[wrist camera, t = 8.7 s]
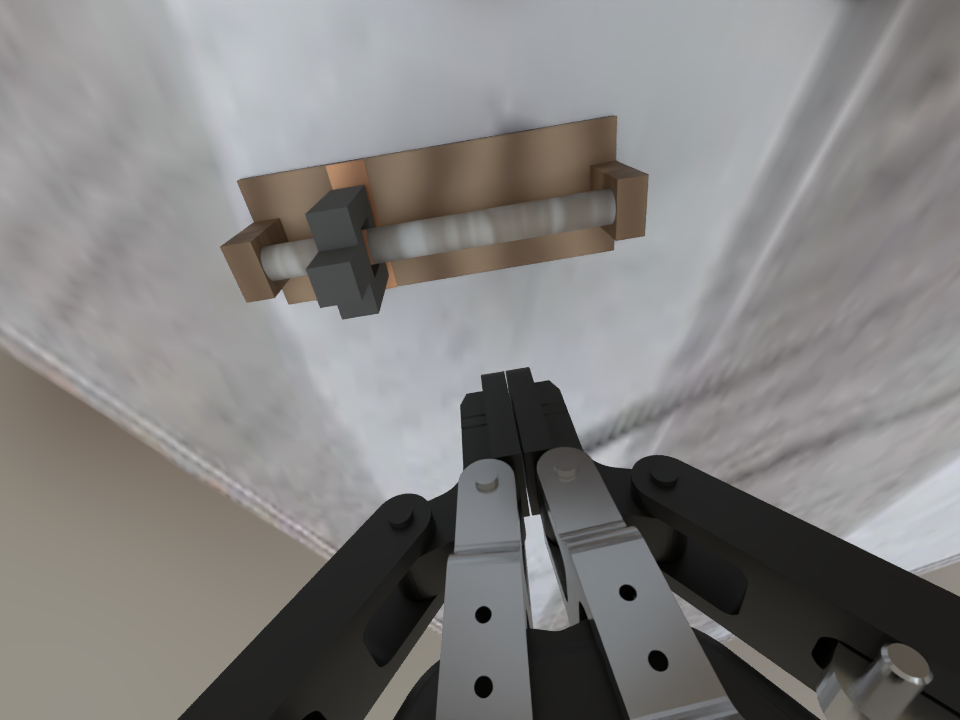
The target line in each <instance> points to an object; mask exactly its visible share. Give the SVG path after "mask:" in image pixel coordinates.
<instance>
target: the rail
mask: <svg viewBox="0 0 960 720" xmlns="http://www.w3.org/2000/svg"><path fill="white" fill-rule="evenodd" d="M616 136H617V116H608V117H602V118H596V119H590V120H584V121H578V122H573V123H567V124H561V125H555V126H549V127H543V128H537V129H532V130H526V131H520V132H514V133H508V134H502V135H496V136H490V137H485V138H479V139H473V140H467V141H461V142H455V143H449V144H443V145H438V146H432V147H426V148H420V149H414V150H408V151H402V152H397V153H391V154H385V155H379V156H373V157H367V158H361V159H355V160H350V161H344V162H338V163H332V164H326V165H320V166H314V167H308V168H303V169H297V170H291V171H285V172H279V173H273V174H267V175H262V176H256V177H250V178H244V179H240V180H238V181H237V183H238V185H239V188H240V190H241V192H242V195H243V197H244V200H245V202H246V204H247V207H248V209H249V211H250V214H251V216H252V219H253V221H254V223H252V224H251V225H249V226H248V227H247V228H245V229H244V230H243V231H241V232H240V233H238V234H237V235H236V236H234V237H233V238H231V239H230V240H229V241H227V242H226V243H225V244H223V245H222V246H220V248H221V250H222V252H223V254H224V256H225V258H226V261H227V263H228V265H229V267H230V269H231V271H232V273H233V275H234V277H235V279H236V282H237V284H238V286H239V288H240V290H241V292H242V294H243V296H244V298H245V300H246V303H247V302H253V301H259V300H265V299H271V298H275V297H276V296H277V294H278V293H279V292H280V291H281V289H282V290H283V292H284V295H285V297H286V300H287V302H288V304H295V303H301V302H307V301H313V300H317V298H316V295H315V293H314V290H313V287H312V285H311V282H310V280H309V277H308V274H307V272H306V268H307V267H308V265H309V264H310V263H311V261H312V260H313V258H314V257H315V256H316V254H317V253H318V250H317V247H316V244H315V241H314V238H313V236H312V233H311V230H310V227H309V224H308V221H307V219H306V216H305V214H306V213H307V212H308V211H309V210H310V209H311V208H312V207H313V206H314V205H315V204H316V203H317V202H318V201H319V200H321V199H322V198H323V197H324V196H325V195H326V194H327V193H328V192H329V191H330V190H335V189H341V188H347V187H353V186H359V185H365V189H366V192H367V196H368V200H369V203H370V207H371V211H372V214H373V218H374V222H375V225H376V228H370V229H364V230H361V233H362V236H363V239H364V243H365V246H366V250H367V253H368V257H369V260H370V263H371V265H372V264H378V263H384V262H386V266H387V270H388V273H389V278H388V281H387V285H386V289H387V288H393V287H397V286H403V285H409V284H415V283H421V282H427V281H433V280H439V279H445V278H451V277H457V276H463V275H469V274H475V273H481V272H487V271H493V270H499V269H505V268H510V267H516V266H522V265H528V264H534V263H540V262H546V261H552V260H558V259H564V258H570V257H576V256H582V255H588V254H594V253H600V252H606V251H612V250H614V239H615V240H616V241H618V240H624V239H630V238H636V237H642V236H645V225H646V208H647V192H648V175H649V174H646V173H644V172H641V171H639V170H637V169H634V168H632V167H629V166H627V165H624V164H622V163H620V162H617V161H616Z"/></svg>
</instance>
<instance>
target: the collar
mask: <svg viewBox="0 0 960 720" xmlns="http://www.w3.org/2000/svg"><path fill="white" fill-rule="evenodd" d="M305 216H306V219H307V221H308V224H309V227H310V230H311V233H312V236H313V238H314V241H315V244H316V247H317V250H318V253H317V254H316V256H315V257H314V258H313V260H312V261H311V263H310V264H309V265H308V267H307V268H306V272H307V274H308V277H309V280H310V282H311V285H312V287H313V290H314V293H315V295H316V298H317V301H318V303H319V306H320V308H322V307H328V306H334V305H337V306H338V309H339V312H340V315H341V317H342V319H348V318H354V317H360V316H366V315H372V314H378V313H379V311H380V307H381V303H382V300H383V296H384V292H385V289H386V285H387V281H388V278H389V273H388V270H387V266H386V262H384V263H378V264H372V265H371V263H370V260H369V257H368V253H367V250H366V246H365V243H364V239H363V236H362V233H361V230H364V229H370V228H376V225H375V222H374V218H373V214H372V211H371V207H370V203H369V200H368V196H367V192H366V189H365V185H359V186H353V187H347V188H341V189H335V190H330V191H329V192H328V193H327V194H326V195H325V196H324V197H323V198H322V199H321V200H319V201H318V202H317V203H316V204H315V205H314V206H313V207H312V208H311V209H310V210H309V211H308V212H307V213H306V214H305Z"/></svg>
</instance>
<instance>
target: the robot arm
mask: <svg viewBox="0 0 960 720" xmlns="http://www.w3.org/2000/svg"><path fill="white" fill-rule="evenodd" d="M506 377H507V383H506V379H505V374H504V371H503V372H496V373H490V374H484V375H481V380H482V388H483V391H481V392H475V393H469V394H466V396H465V398H464V400H463V401H462V403H461V405H460V410H461V428H462V449H463V472H462V473H461V475H460V478H459V481H458V483H457V484H456V485H455V486H454V487H453V488H452V489H451V490H449V491H448V492H446V493H444V494H443V495H440V496H438V497H436V498H434V499H432V500H429V501H427V500H426V499H425V498H423V497H422V496H419V495H417V494H401V495H398V496H395V497H393V498H391V499H389V500H388V501H386V502H385V503H384V504H382V505H381V506H380V507H379V508H378V509H377V510H376V512H375V513H374V514H373V515H372V516H371V517H370V518H369V519H368V520H367V521H366V522H365V523H364V524H363V525H362V526H361V527H360V528H359V529H358V530H357V532H356V533H355V534H354V535H353V536H352V537H351V538H350V539H349V540H348V541H347V542H346V543H345V544H344V545H343V546H342V547H341V548H340V549H339V550H338V551H337V553H336V554H335V555H334V556H333V557H332V558H331V559H330V560H329V561H328V562H327V563H326V564H325V565H324V566H323V567H322V568H321V569H320V570H319V571H318V573H317V574H316V575H315V576H314V577H313V578H312V579H311V580H310V581H309V582H308V583H307V584H306V585H305V586H304V587H303V588H302V589H301V590H300V591H299V592H298V594H297V595H296V596H295V597H294V598H293V599H292V600H291V601H290V602H289V603H288V604H287V605H286V606H285V607H284V608H283V609H282V610H281V611H280V613H279V614H278V615H277V616H276V617H275V618H274V619H273V620H272V621H271V622H270V623H269V624H268V625H267V626H266V627H265V628H264V629H263V630H262V631H261V632H260V633H259V634H258V635H257V637H256V638H255V639H254V640H253V641H252V642H251V643H250V644H249V645H248V646H247V647H246V648H245V649H244V650H243V651H242V652H241V654H239V656H237V658H236V659H235V660H234V661H233V662H232V663H231V664H230V665H229V666H228V667H227V668H226V669H225V670H224V671H223V672H222V673H221V674H220V675H219V677H218V678H217V679H216V680H215V681H214V682H213V683H212V684H211V685H210V686H209V687H208V688H207V689H206V690H205V691H204V692H203V693H202V694H201V695H200V696H199V697H198V699H197V700H196V701H195V702H194V703H193V704H192V705H191V706H190V707H189V708H188V709H187V710H186V711H185V712H184V713H183V714H182V715H181V716H180V717H179V718H178V720H364V718H365V717H366V715H367V714H368V712H369V711H370V709H371V708H372V707H373V705H374V704H375V702H376V701H377V699H378V698H379V696H380V695H381V693H382V692H383V691H384V689H385V687H386V686H387V685H388V683H389V682H390V680H391V679H392V677H393V676H394V674H395V673H396V672H397V670H398V669H399V667H400V666H401V664H402V663H403V661H404V660H405V659H406V657H407V656H408V654H409V653H410V651H411V650H412V648H413V647H414V646H415V644H416V643H417V641H418V640H419V638H420V637H421V635H422V634H423V632H424V631H425V629H426V628H427V627H428V625H429V624H430V622H431V621H432V619H433V618H434V616H435V615H436V614H437V612H438V611H439V609H440V608H441V606H442V605H443V603H444V613H443V627H442V641H441V654H440V660H439V661H438V662H436V663H435V664H434V665H433V666H431V668H429V670H427V671H426V673H425V674H424V675H423V676H422V677H421V678H420V679H419V680H418V682H417V683H416V684H415V686H414V687H413V689H412V690H411V691H410V693H409V694H408V696H407V697H406V699H405V701H404V703H403V704H402V706H401V707H400V709H399V711H398V712H397V714H396V716H395V717H394V719H393V720H820V719H819V718H818V717H816V716H815V715H814V714H812V713H811V712H809V711H808V710H807V709H806V708H804V707H803V706H802V705H801V704H799V703H798V702H797V701H796V700H794V699H793V698H792V697H790V696H789V695H788V694H786V693H785V692H784V691H783V690H781V689H780V688H779V687H777V686H776V685H775V684H773V683H772V682H771V681H770V680H768V679H767V678H765V677H764V676H763V675H762V674H760V673H759V672H758V671H757V670H755V669H754V668H753V667H751V666H750V665H749V664H748V663H746V662H745V661H744V660H742V659H741V658H740V657H738V656H737V655H736V654H734V653H733V652H732V651H731V650H729V649H728V648H727V647H725V646H724V645H723V644H721V643H720V642H718V641H717V640H715V639H713V638H712V637H710V636H709V635H707V634H705V633H703V632H701V631H699V630H697V629H695V628H693V627H690V625H689V623H688V621H687V619H686V617H685V615H684V614H683V612H682V610H681V608H680V606H679V604H678V602H677V600H676V599H675V597H674V595H673V593H672V591H673V592H674V593H676V594H677V595H678V596H680V597H681V598H683V599H684V600H686V601H687V602H688V603H690V604H691V605H693V606H694V607H695V608H697V609H698V610H700V611H701V612H703V613H704V614H705V615H707V616H708V617H710V618H711V619H713V620H714V621H715V622H717V623H718V624H720V625H721V626H722V627H724V628H725V629H727V630H728V631H730V632H731V633H732V634H734V635H735V636H737V637H738V638H740V639H741V640H742V641H744V642H745V643H747V644H748V645H750V646H751V647H752V648H754V649H755V650H757V651H758V652H759V653H761V654H762V655H764V656H765V657H767V658H768V659H770V660H771V661H772V662H774V663H775V664H776V665H778V666H779V667H781V668H782V669H784V670H785V671H786V672H788V673H789V674H791V675H792V676H794V677H795V678H797V679H798V680H799V681H801V682H802V683H803V684H805V685H806V686H808V687H809V688H811V689H812V690H813V691H815V692H816V693H817V698H818V701H819V704H820V707H821V709H822V711H823V713H824V715H825V717H826V718H827V720H960V597H959V596H957V595H955V594H953V593H951V592H949V591H947V590H945V589H943V588H941V587H939V586H937V585H934V584H932V583H931V582H929V581H927V580H924V579H922V578H920V577H918V576H916V575H914V574H912V573H910V572H908V571H906V570H904V569H902V568H900V567H898V566H896V565H894V564H892V563H890V562H887V561H885V560H883V559H881V558H879V557H877V556H875V555H873V554H871V553H869V552H867V551H865V550H863V549H861V548H859V547H857V546H855V545H853V544H850V543H848V542H846V541H844V540H842V539H840V538H838V537H836V536H834V535H832V534H830V533H828V532H826V531H824V530H822V529H820V528H818V527H816V526H813V525H811V524H809V523H807V522H805V521H803V520H801V519H799V518H797V517H795V516H793V515H791V514H789V513H787V512H785V511H783V510H781V509H779V508H776V507H774V506H772V505H770V504H768V503H766V502H764V501H762V500H760V499H758V498H756V497H754V496H752V495H750V494H748V493H746V492H744V491H742V490H739V489H737V488H735V487H733V486H731V485H729V484H727V483H725V482H723V481H721V480H719V479H717V478H715V477H713V476H711V475H709V474H707V473H705V472H702V471H700V470H698V469H696V468H694V467H692V466H690V465H688V464H686V463H684V462H682V461H680V460H678V459H675V458H672V457H669V456H664V455H652V456H647V457H644V458H642V459H640V460H639V461H638V462H636V463H635V465H634V466H633V468H632V469H625V468H615V467H609V466H605V465H602V464H599V463H597V462H595V461H594V460H592V459H591V457H590V456H589V455H588V454H586V453H585V452H584V451H583V449H582V446H581V444H580V441H579V439H578V436H577V433H576V431H575V428H574V426H573V423H572V420H571V418H570V415H569V413H568V410H567V407H566V405H565V403H564V399H563V397H562V394H561V392H560V389H559V388H557V387H556V386H555V385H554V384H553V383H552V382H550V381H549V380H548V381H542V382H536V383H534V381H533V378H532V374H531V371H530V368H529V367H526V368H520V369H514V370H508V371H506ZM507 384H508V388H507ZM508 391H509V393H508ZM525 483H526V485H525ZM526 488H527V492H526ZM527 493H528V497H529V502H530V507H531V512H532V515H538V514H540V515H541V519H542V524H543V529H544V538H545V543H546V546H547V550H548V553H549V556H550V559H551V562H552V566H553V569H554V572H555V575H556V579H557V582H558V585H559V588H560V591H561V595H562V598H563V601H564V604H565V608H566V611H567V615H568V619H569V624H570V627H568V628H566V629H564V630H561V631H547V630H539V629H533V622H532V613H531V602H530V591H529V580H528V570H527V559H526V548H525V539H526V530H525V523H524V517H527V516H530V514H529V507H528V499H527Z"/></svg>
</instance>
